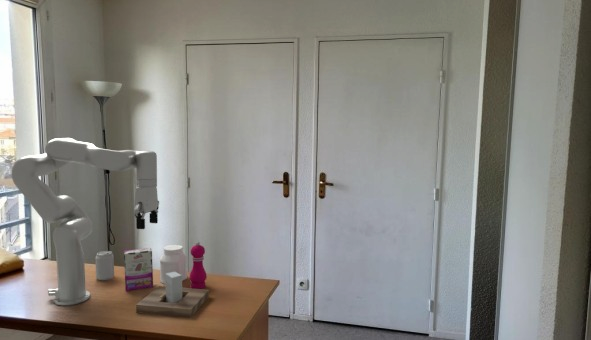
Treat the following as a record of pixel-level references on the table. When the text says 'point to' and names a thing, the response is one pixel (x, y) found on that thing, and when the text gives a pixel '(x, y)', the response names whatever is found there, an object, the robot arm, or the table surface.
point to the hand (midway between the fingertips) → (147, 225)
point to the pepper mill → (198, 267)
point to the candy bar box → (138, 269)
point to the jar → (173, 262)
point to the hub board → (184, 307)
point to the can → (104, 265)
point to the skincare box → (173, 287)
